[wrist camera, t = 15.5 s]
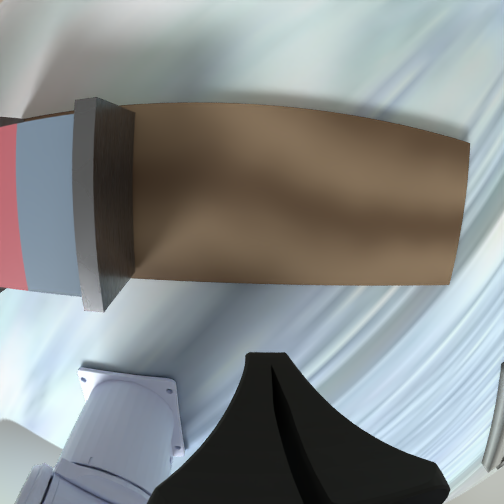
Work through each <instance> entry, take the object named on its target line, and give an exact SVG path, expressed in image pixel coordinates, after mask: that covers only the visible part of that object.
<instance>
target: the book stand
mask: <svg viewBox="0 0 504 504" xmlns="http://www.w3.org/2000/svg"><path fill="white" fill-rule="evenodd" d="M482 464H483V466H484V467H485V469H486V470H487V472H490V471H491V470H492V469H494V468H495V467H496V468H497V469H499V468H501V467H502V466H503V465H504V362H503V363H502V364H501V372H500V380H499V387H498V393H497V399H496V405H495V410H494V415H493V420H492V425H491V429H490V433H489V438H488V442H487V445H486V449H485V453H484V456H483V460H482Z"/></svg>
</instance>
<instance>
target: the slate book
mask: <svg viewBox="0 0 504 504" xmlns="http://www.w3.org/2000/svg"><path fill="white" fill-rule="evenodd" d="M73 123H74V114H69V115H62V116H56V117H49V118H43V119H38V120H32V121H27V122H22V123H17V134H16V194H17V211H18V223H19V233H20V242H21V249H22V257H23V263H24V270H25V275H26V281H27V286H28V291H34V292H43V293H51V294H61V295H70V296H80V297H82V293H81V287H80V279H79V272H78V263H77V254H76V244H75V232H74V217H73V195H72V145H73Z"/></svg>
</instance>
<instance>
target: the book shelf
mask: <svg viewBox="0 0 504 504" xmlns="http://www.w3.org/2000/svg"><path fill="white" fill-rule="evenodd" d="M120 107H123V108H125V109H128V110H130V111H133V112H135V124H134V145H133V233H134V254H135V271H136V272H135V273H134V274H133V276H132V277H131V278H137V279H155V280H175V281H197V282H222V283H252V284H290V285H449V284H450V280H451V275H452V271H453V267H454V262H455V258H456V253H457V248H458V242H459V237H460V231H461V225H462V219H463V213H464V205H465V198H466V189H467V180H468V169H469V155H470V143H468V142H465V141H461V140H458V139H455V138H451V137H448V136H444V135H441V134H437V133H433V132H429V131H425V130H421V129H417V128H413V127H409V126H404V125H400V124H395V123H391V122H386V121H381V120H376V119H370V118H365V117H359V116H353V115H347V114H341V113H334V112H327V111H320V110H312V109H303V108H294V107H283V106H271V105H258V104H239V103H198V102H193V103H152V104H134V105H121V106H120ZM69 114H74V111H68V112H61V113H55V114H49V115H43V116H37V117H32V118H27V119H19V118H7V117H0V127H3V126H7V125H12V124H17V123H22V122H27V121H32V120H38V119H43V118H49V117H56V116H62V115H69ZM5 289H6V288H4V287H0V292H2V291H3V290H5Z"/></svg>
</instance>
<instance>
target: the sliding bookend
mask: <svg viewBox="0 0 504 504" xmlns="http://www.w3.org/2000/svg"><path fill="white" fill-rule="evenodd" d="M134 124H135V112H133V111H130V110H128V109H125V108H123V107H120V106H118V105H115V104H113V103H110V102H108V101H105V100H103V99H100V98H98V97H94V98H86V99H79V100H75V109H74V123H73V145H72V195H73V217H74V232H75V244H76V254H77V263H78V272H79V279H80V287H81V293H82V300H83V306H84V311H93V312H103V313H104V312H105V310H106V309H107V308H108V306H109V305H110V304H111V302H112V301H113V300H114V298H115V297H116V296H117V295H118V293H119V292H120V291H121V289H122V288H123V287H124V286H125V284H126V283H127V282H128V281H129V279H130V278H131V277H132V276H133V274H134V273H135V272H136V271H135V254H134V233H133V145H134Z"/></svg>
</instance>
